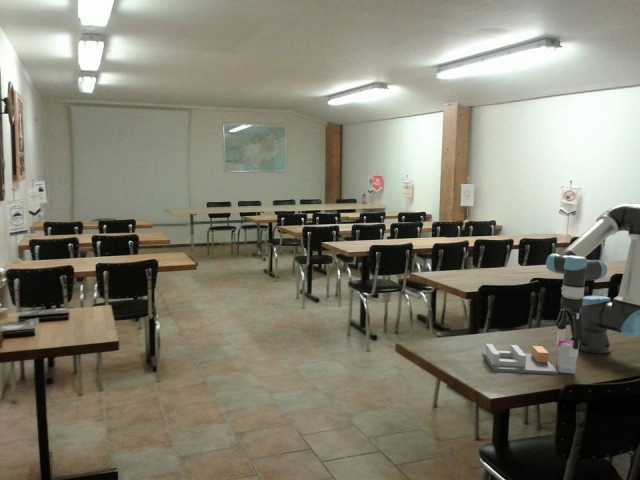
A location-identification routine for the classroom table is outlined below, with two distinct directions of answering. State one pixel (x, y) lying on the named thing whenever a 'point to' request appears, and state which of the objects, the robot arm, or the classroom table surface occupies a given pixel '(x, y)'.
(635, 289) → the robot arm
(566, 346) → the supplement box
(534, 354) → the block
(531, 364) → the block
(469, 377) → the classroom table surface
